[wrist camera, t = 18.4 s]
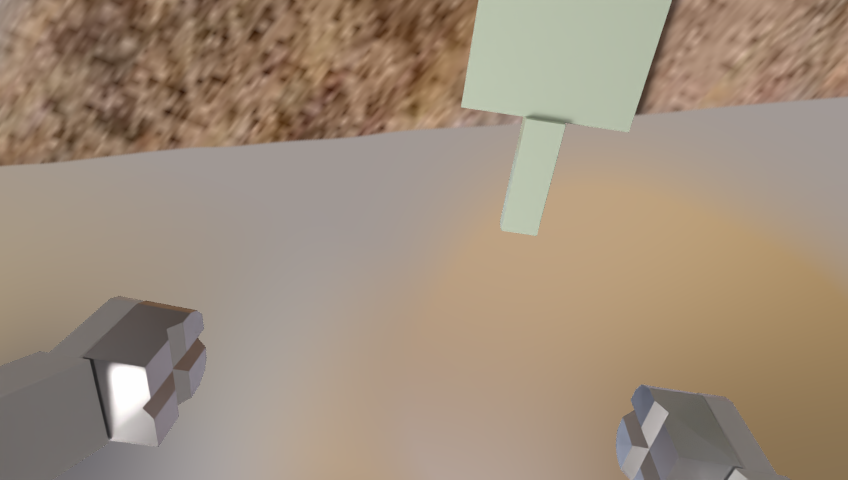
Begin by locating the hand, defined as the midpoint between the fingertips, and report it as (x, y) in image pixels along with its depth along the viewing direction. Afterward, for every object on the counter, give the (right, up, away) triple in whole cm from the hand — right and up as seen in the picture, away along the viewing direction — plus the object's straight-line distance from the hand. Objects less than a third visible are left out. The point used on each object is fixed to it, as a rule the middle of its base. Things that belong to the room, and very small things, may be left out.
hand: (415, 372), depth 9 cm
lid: (+11, +15, +35) cm, 40 cm away
